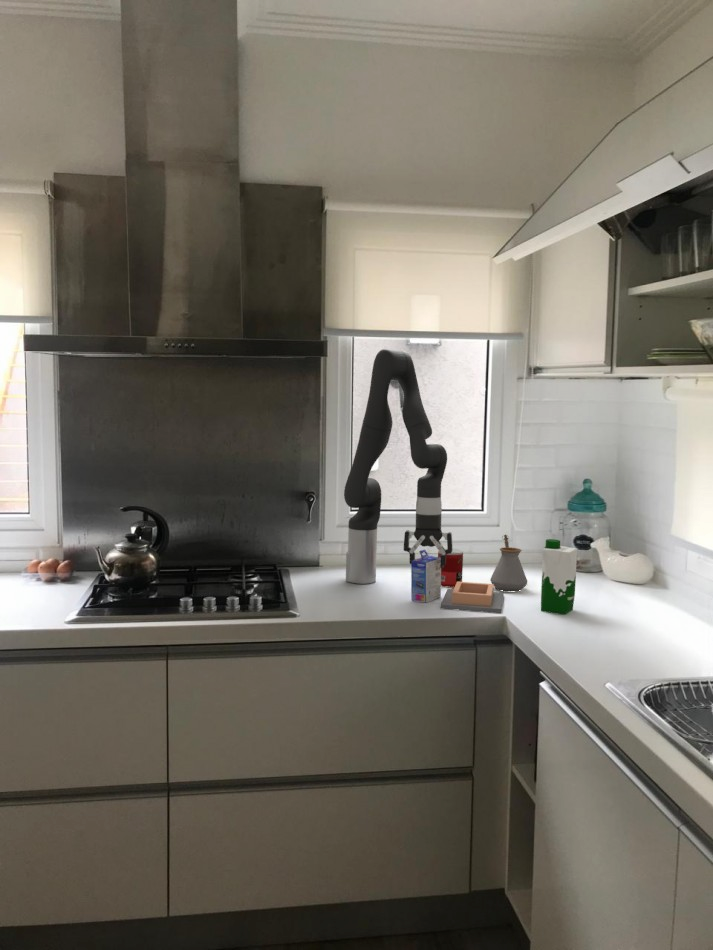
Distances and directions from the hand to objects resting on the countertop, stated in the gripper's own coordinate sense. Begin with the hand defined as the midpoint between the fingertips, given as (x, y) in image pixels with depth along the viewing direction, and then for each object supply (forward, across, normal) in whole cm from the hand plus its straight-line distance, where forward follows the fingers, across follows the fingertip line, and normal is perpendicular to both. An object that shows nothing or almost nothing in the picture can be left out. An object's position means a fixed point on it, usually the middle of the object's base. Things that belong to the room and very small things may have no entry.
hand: (427, 566), depth 246 cm
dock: (+10, +14, 0) cm, 17 cm away
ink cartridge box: (+10, 0, 0) cm, 10 cm away
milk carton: (+11, +38, -2) cm, 39 cm away
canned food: (+10, +5, +21) cm, 24 cm away
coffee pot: (+10, +23, +25) cm, 35 cm away
